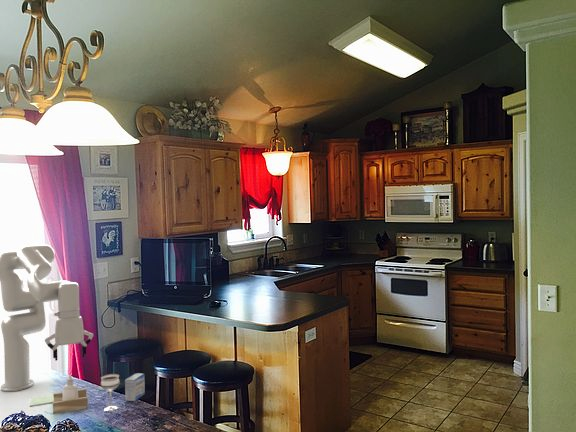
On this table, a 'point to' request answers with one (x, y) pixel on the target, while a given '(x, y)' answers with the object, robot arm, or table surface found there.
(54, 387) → the table surface
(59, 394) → the maple channel
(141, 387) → the medicine box
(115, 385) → the wineglass
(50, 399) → the sage mat
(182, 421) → the table surface
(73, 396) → the eye dropper bottle
